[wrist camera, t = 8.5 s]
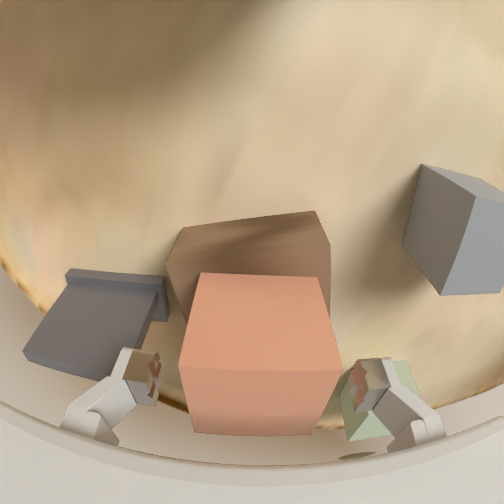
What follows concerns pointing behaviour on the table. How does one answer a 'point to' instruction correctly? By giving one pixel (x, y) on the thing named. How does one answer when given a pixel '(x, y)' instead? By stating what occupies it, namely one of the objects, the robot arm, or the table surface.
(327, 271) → the brown curved block
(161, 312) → the tile
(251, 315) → the terracotta cube
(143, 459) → the robot arm
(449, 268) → the slate cube
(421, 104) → the table surface
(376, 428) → the sage cube
